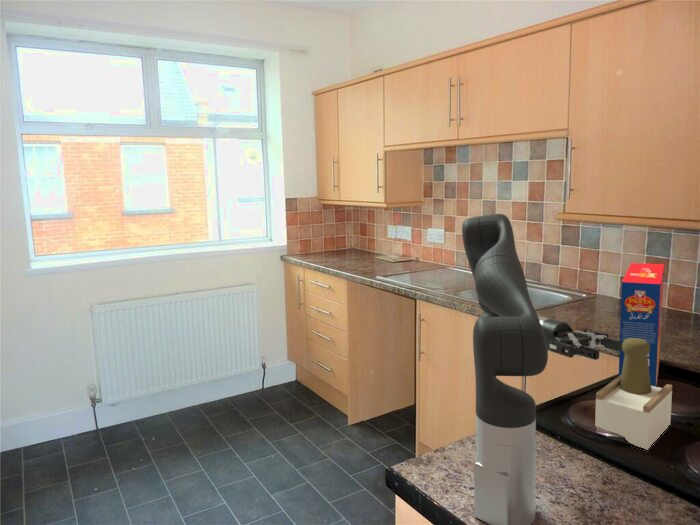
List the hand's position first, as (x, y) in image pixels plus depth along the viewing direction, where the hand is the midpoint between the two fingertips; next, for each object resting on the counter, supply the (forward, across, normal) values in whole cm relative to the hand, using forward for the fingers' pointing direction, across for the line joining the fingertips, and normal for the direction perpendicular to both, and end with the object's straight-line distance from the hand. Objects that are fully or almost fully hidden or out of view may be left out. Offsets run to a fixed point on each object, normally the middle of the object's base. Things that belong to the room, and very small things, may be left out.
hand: (610, 350), depth 110 cm
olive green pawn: (+4, +3, +8) cm, 10 cm away
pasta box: (-10, +30, +16) cm, 36 cm away
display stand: (+6, 0, +16) cm, 17 cm away
